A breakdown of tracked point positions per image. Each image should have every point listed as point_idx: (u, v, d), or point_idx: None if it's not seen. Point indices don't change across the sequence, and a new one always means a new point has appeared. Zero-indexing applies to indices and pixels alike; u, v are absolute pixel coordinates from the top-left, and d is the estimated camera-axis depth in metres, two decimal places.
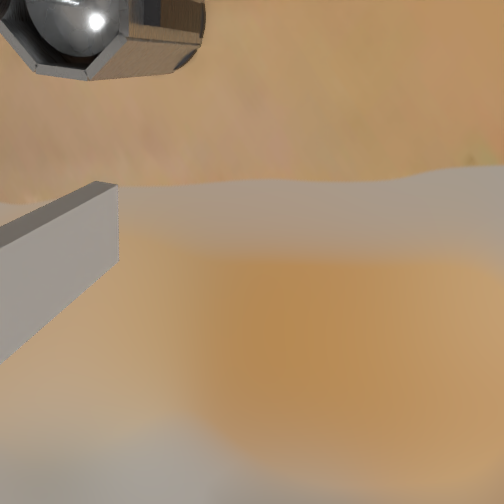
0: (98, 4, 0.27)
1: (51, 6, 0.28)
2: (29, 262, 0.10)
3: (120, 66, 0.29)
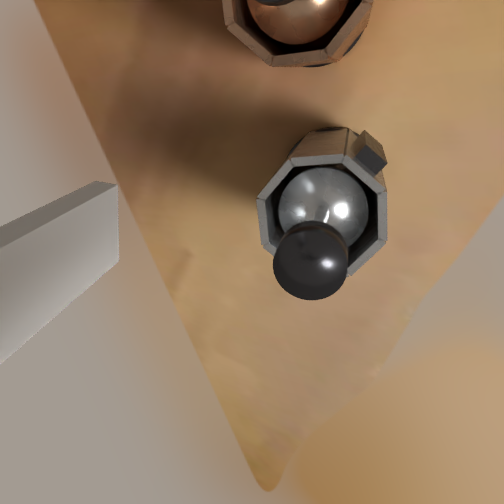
0: (339, 197, 0.32)
1: None
2: (29, 262, 0.10)
3: None
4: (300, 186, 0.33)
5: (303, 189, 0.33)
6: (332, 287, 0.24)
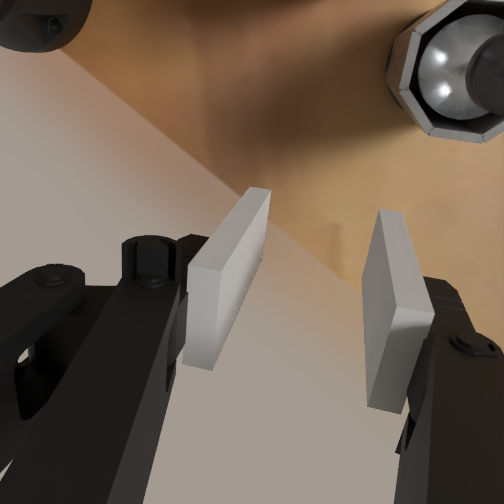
0: (480, 42, 0.29)
1: None
2: (240, 260, 0.12)
3: None
4: (434, 57, 0.30)
5: (439, 58, 0.30)
6: None
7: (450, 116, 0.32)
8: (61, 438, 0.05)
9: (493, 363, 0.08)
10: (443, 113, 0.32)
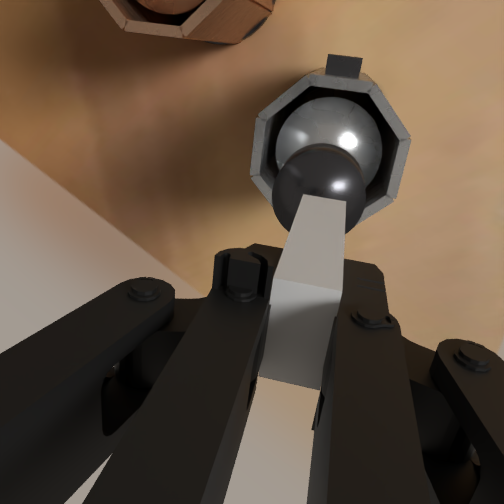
0: (335, 125, 0.27)
1: None
2: None
3: None
4: (289, 140, 0.28)
5: (294, 141, 0.28)
6: (357, 206, 0.19)
7: None
8: (150, 451, 0.05)
9: (390, 334, 0.08)
10: None
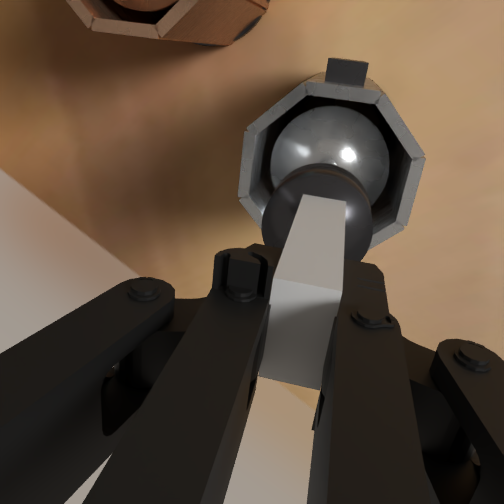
0: (336, 138, 0.24)
1: None
2: None
3: None
4: (285, 153, 0.25)
5: (291, 154, 0.25)
6: (362, 239, 0.16)
7: None
8: (150, 451, 0.05)
9: (390, 334, 0.08)
10: None
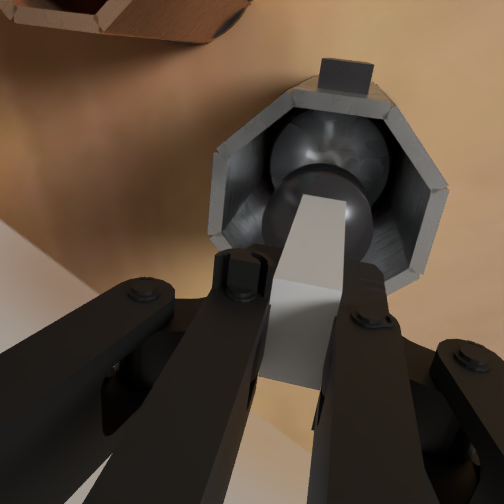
0: (336, 138, 0.24)
1: None
2: None
3: None
4: (285, 153, 0.25)
5: (291, 154, 0.25)
6: (362, 239, 0.16)
7: None
8: (150, 451, 0.05)
9: (390, 334, 0.08)
10: None
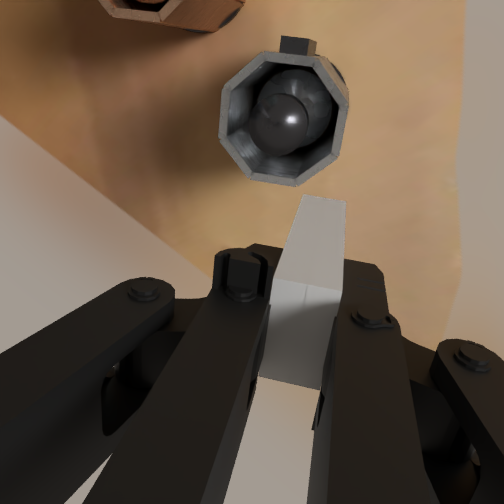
0: (298, 90, 0.38)
1: None
2: None
3: (339, 86, 0.32)
4: None
5: None
6: (301, 130, 0.30)
7: None
8: (149, 451, 0.05)
9: (390, 334, 0.08)
10: None
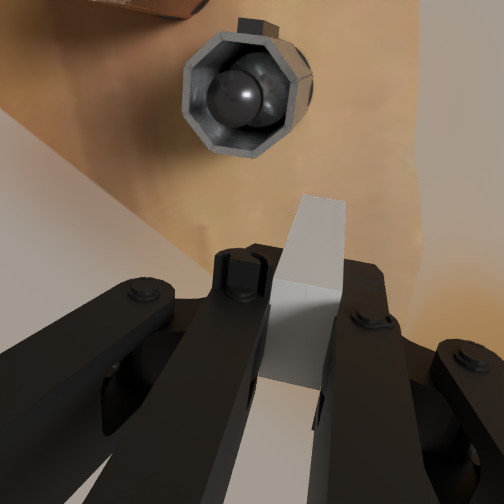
0: (261, 71, 0.41)
1: (262, 108, 0.42)
2: None
3: (293, 65, 0.35)
4: None
5: None
6: (254, 103, 0.33)
7: (250, 124, 0.43)
8: (149, 451, 0.05)
9: (390, 334, 0.08)
10: None
